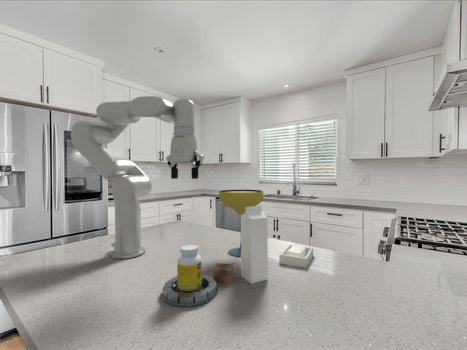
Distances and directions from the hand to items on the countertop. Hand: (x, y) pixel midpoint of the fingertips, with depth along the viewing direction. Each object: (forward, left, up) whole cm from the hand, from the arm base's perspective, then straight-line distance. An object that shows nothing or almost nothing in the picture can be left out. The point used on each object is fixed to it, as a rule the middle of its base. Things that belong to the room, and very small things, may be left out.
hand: (184, 178), depth 91 cm
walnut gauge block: (+22, -9, -31) cm, 39 cm away
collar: (+18, -20, -30) cm, 41 cm away
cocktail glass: (+16, +16, -31) cm, 38 cm away
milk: (+30, -4, -31) cm, 43 cm away
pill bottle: (+18, -20, -30) cm, 40 cm away
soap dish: (+38, +18, -30) cm, 52 cm away
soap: (+38, +19, -30) cm, 52 cm away
